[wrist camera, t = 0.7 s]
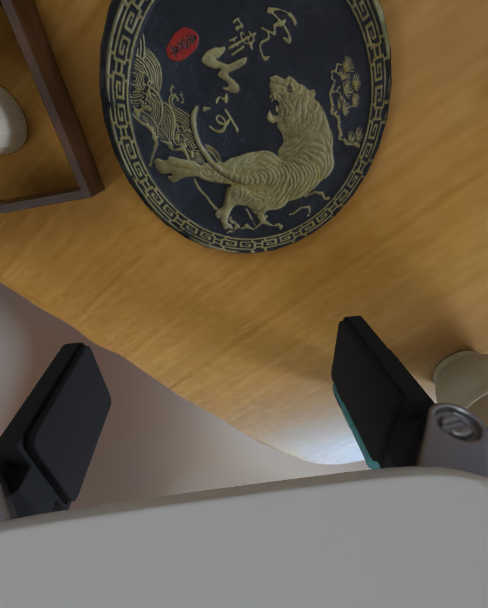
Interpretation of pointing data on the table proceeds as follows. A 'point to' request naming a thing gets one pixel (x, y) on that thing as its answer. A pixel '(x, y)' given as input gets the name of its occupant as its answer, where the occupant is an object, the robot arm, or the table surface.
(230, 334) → the table surface
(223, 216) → the decorative plate
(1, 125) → the cup
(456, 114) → the table surface
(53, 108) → the wooden box
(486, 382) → the planter bowl
